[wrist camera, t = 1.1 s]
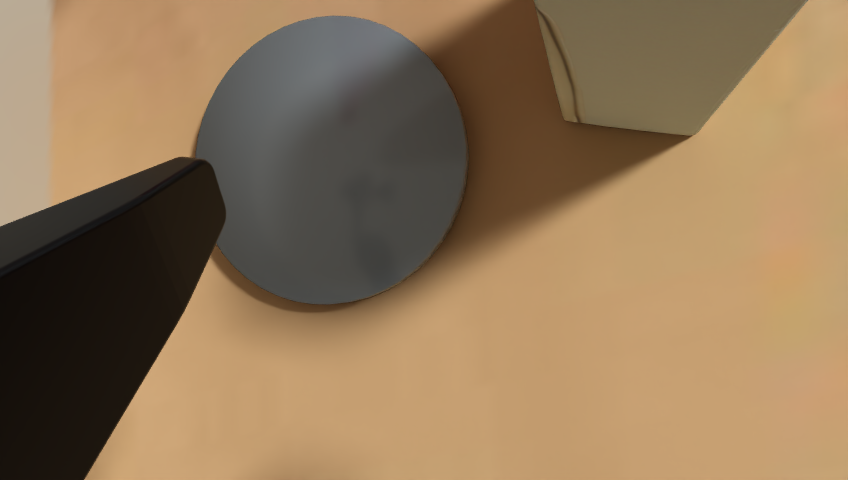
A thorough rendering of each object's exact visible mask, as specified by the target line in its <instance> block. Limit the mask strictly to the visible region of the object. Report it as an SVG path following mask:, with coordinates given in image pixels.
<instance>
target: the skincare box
mask: <svg viewBox="0 0 848 480" xmlns="http://www.w3.org/2000/svg"><path fill="white" fill-rule="evenodd" d="M807 1H808V0H534V3H535V8H536V11H537V16H538V20H539V24H540V29H541V33H542V37H543V40H544V44H545V48H546V52H547V57H548V61H549V65H550V69H551V73H552V78H553V81H554V86H555V89H556V93H557V97H558V101H559V105H560V109H561V112H562V116H563V119H564V120H566V121H571V122H579V123H586V124H593V125H600V126H607V127H616V128H624V129H633V130H641V131H650V132H659V133H668V134H678V135H688V136H690V135H695V134H697V133H698V132H699V131H700V129H701V128H702V127H703V126H704V124H705V123H706V122H707V121H708V120H709V118H710V117H711V116H712V115H713V113H714V112H715V111H716V110H717V109H718V108H719V106H720V105H721V104H722V103H723V102H724V100H725V99H726V98H727V97H728V95H729V94H730V93H731V92H732V91H733V90H734V88H735V87H736V86H737V85H738V84H739V82H740V81H741V80H742V79H743V78H744V76H745V75H746V74H747V73H748V72H749V70H750V69H751V68H752V67H753V66H754V65H755V63H756V62H757V61H758V60H759V58H760V57H761V56H762V55H763V54H764V52H765V51H766V50H767V49H768V48H769V46H770V45H771V44H772V43H773V42H774V40H775V39H776V38H777V37H778V36H779V34H780V33H781V32H782V31H783V30H784V28H785V27H786V26H787V25H788V24H789V23H790V21H791V20H792V19H793V18H794V17H795V15H796V14H797V13H798V12H799V10H800V9H801V8H802V7H803V6H804V4H805V3H806V2H807Z"/></svg>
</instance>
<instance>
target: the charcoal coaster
mask: <svg viewBox="0 0 848 480" xmlns="http://www.w3.org/2000/svg"><path fill="white" fill-rule="evenodd" d="M196 158H199V159H205V160H207V161H208V162H209V163H210V164H211V165H212V167H213V169H214V172H215V175H216V178H217V181H218V184H219V187H220V191H221V194H222V197H223V200H224V203H225V207H226V220H225V224H224V227H223V229H222V231H221V234H220V236H219V238H218V240H217V242H216V244H217V245H218V247H219V248H220V250H221V251H222V253H223V254H224V255H225V257H226V258H227V259H228V260H229V261H230V262H231V264H232V265H233V266H234V267H235V268H236V269H237V270H238V271H239V272H241V273H242V274H243V275H244V276H245V277H246V278H247V279H249V280H250V281H252V282H253V283H255V284H256V285H258V286H259V287H261V288H262V289H264V290H266V291H268V292H271V293H273V294H275V295H277V296H280V297H283V298H286V299H289V300H292V301H297V302H302V303H308V304H336V303H345V302H353V301H358V300H361V299H365V298H369V297H373V296H375V295H377V294H380V293H382V292H385V291H387V290H389V289H391V288H393V287H394V286H396V285H398V284H400V283H401V282H403V281H405V280H406V279H407V278H408V277H410V276H411V275H412V274H414V273H415V272H416V271H417V270H419V269H420V268H421V267H422V266H423V265H424V264H425V263H426V262H427V261H428V260H429V259H430V258H431V257H432V255H433V254H434V253H435V252H436V250H437V249H438V248H439V246H440V245H441V244H442V242H443V241H444V239H445V238H446V236H447V234H448V232H449V231H450V229H451V227H452V225H453V223H454V221H455V219H456V216H457V214H458V211H459V209H460V207H461V203H462V199H463V196H464V192H465V189H466V182H467V175H468V165H469V148H468V139H467V131H466V127H465V123H464V119H463V115H462V111H461V109H460V106H459V104H458V101H457V99H456V96H455V94H454V92H453V91H452V89H451V87H450V85H449V84H448V82H447V80H446V78H445V77H444V76H443V75H442V73H441V72H440V71H439V69H438V68H437V67H436V66H435V64H434V63H433V62H432V61H431V60H430V58H429V57H428V56H427V55H426V54H425V53H424V52H423V51H421V50H420V49H419V48H418V47H417V46H416V45H415V44H414V43H412V42H411V41H410V40H408V39H407V38H406V37H404V36H403V35H401V34H400V33H398V32H396V31H394V30H392V29H390V28H388V27H386V26H384V25H381V24H378V23H375V22H373V21H370V20H366V19H361V18H356V17H349V16H325V17H315V18H311V19H307V20H302V21H298V22H296V23H293V24H290V25H288V26H285V27H282V28H281V29H279V30H277V31H275V32H273V33H271V34H269V35H267V36H266V37H264V38H263V39H262V40H260V41H259V42H257V43H256V44H255V45H253V46H252V47H251V48H250V49H249V50H247V51H246V52H245V53H244V54H243V55H242V56H241V57H240V58H239V59H238V60H237V61H236V62H235V63H234V65H233V66H232V67H231V68H230V69H229V70H228V72H227V73H226V74H225V76H224V77H223V79H222V80H221V82H220V83H219V85H218V86H217V88H216V90H215V92H214V94H213V96H212V98H211V100H210V101H209V104H208V106H207V109H206V112H205V114H204V117H203V120H202V123H201V127H200V131H199V135H198V141H197V148H196Z"/></svg>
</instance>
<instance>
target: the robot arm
mask: <svg viewBox="0 0 848 480" xmlns="http://www.w3.org/2000/svg"><path fill="white" fill-rule="evenodd" d="M225 220H226V207H225V203H224V200H223V197H222V194H221V191H220V187H219V184H218V181H217V178H216V175H215V172H214V169H213V167H212V165H211V164H210V163H209V162H208V161H207V160H205V159H199V158H189V157H178V158H174V159H172V160H169V161H167V162H164V163H162V164H159V165H157V166H154V167H151V168H149V169H146V170H144V171H141V172H139V173H136V174H134V175H131V176H128V177H126V178H123V179H121V180H118V181H116V182H113V183H110V184H108V185H105V186H103V187H100V188H98V189H95V190H93V191H90V192H87V193H85V194H82V195H80V196H77V197H75V198H72V199H70V200H67V201H64V202H62V203H59V204H57V205H54V206H52V207H49V208H46V209H44V210H41V211H39V212H36V213H34V214H31V215H29V216H26V217H23V218H21V219H18V220H16V221H13V222H11V223H8V224H6V225H3V226H1V227H0V480H84V479H85V478H86V476H87V474H88V473H89V471H90V469H91V468H92V466H93V464H94V463H95V461H96V459H97V458H98V456H99V454H100V452H101V451H102V449H103V447H104V446H105V444H106V442H107V441H108V439H109V437H110V436H111V434H112V432H113V431H114V429H115V427H116V426H117V424H118V422H119V421H120V419H121V417H122V416H123V414H124V412H125V411H126V409H127V407H128V406H129V404H130V402H131V401H132V399H133V397H134V395H135V394H136V392H137V390H138V389H139V387H140V385H141V384H142V382H143V380H144V379H145V377H146V375H147V374H148V372H149V370H150V369H151V367H152V365H153V364H154V362H155V360H156V359H157V357H158V355H159V354H160V352H161V350H162V349H163V347H164V345H165V344H166V342H167V340H168V338H169V337H170V335H171V333H172V332H173V330H174V328H175V327H176V325H177V323H178V321H179V320H180V318H181V316H182V314H183V313H184V311H185V309H186V307H187V305H188V303H189V301H190V299H191V297H192V294H193V292H194V290H195V288H196V286H197V284H198V281H199V279H200V277H201V275H202V273H203V271H204V268H205V266H206V264H207V262H208V260H209V257H210V255H211V253H212V251H213V249H214V247H215V244H216V242H217V240H218V238H219V236H220V234H221V231H222V229H223V227H224V224H225Z"/></svg>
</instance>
